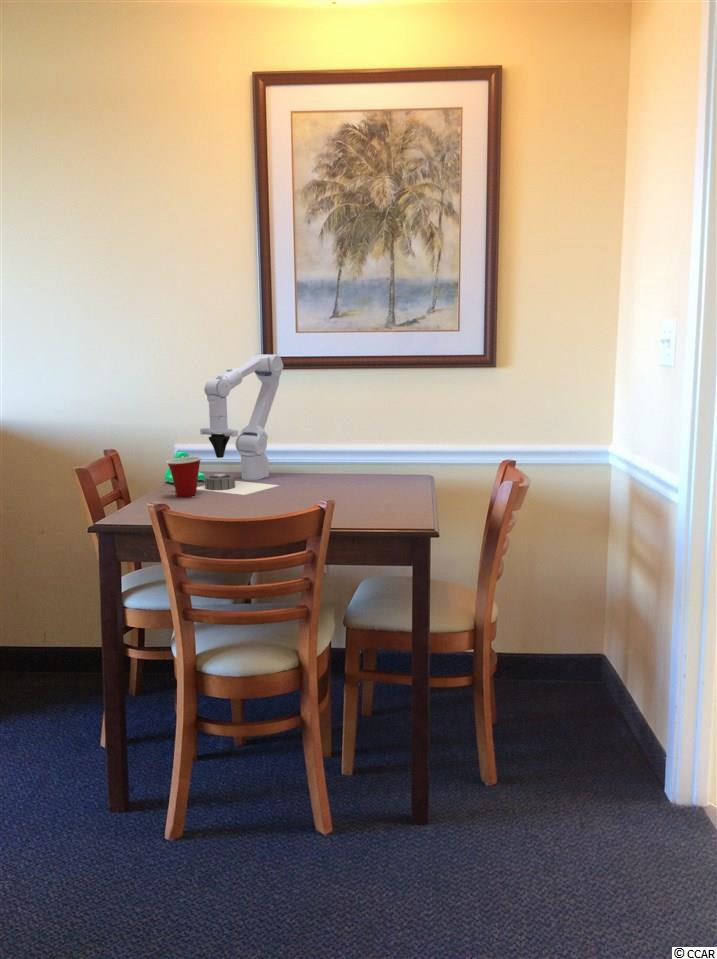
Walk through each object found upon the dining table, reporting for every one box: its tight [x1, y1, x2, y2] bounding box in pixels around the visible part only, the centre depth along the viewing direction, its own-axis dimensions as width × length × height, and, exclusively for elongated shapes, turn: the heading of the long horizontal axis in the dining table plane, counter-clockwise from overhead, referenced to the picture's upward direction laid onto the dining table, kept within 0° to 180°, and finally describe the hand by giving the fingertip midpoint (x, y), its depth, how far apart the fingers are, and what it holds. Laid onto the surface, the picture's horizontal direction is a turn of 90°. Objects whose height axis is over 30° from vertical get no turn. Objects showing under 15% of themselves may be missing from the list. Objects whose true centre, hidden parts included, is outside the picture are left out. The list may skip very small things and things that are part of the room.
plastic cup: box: [166, 456, 202, 498], centre depth 273 cm, size 11×11×12 cm
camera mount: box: [164, 451, 206, 484], centre depth 298 cm, size 12×8×10 cm, turn 121°
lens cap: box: [211, 473, 228, 479], centre depth 283 cm, size 5×5×4 cm
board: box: [196, 474, 281, 496], centre depth 283 cm, size 18×22×4 cm
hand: (220, 457), depth 286 cm, fingers closed
